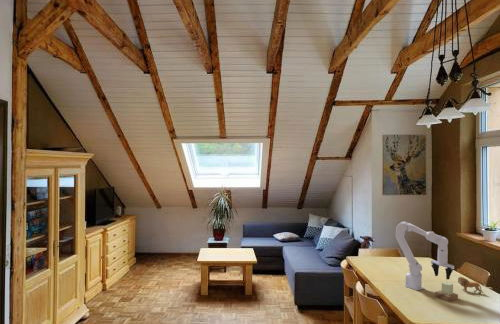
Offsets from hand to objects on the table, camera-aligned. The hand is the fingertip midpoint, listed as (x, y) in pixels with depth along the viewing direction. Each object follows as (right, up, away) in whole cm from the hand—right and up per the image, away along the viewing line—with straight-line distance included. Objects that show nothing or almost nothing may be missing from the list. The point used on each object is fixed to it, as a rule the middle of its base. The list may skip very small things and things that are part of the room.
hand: (442, 277), depth 238 cm
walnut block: (-2, -10, -9) cm, 14 cm away
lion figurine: (+19, -10, +3) cm, 22 cm away
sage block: (-2, -7, -9) cm, 12 cm away
